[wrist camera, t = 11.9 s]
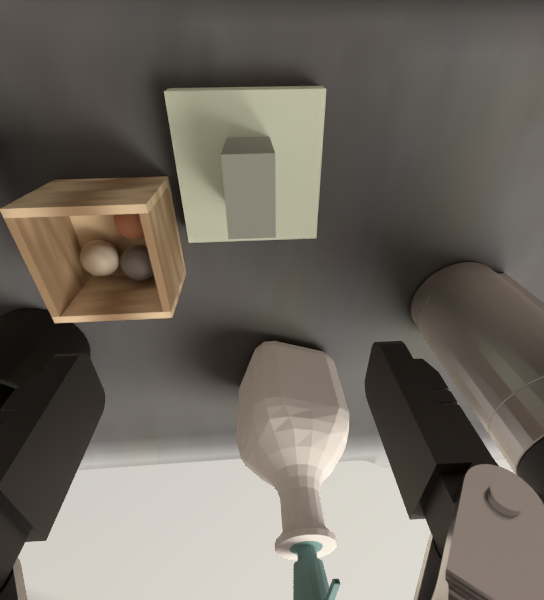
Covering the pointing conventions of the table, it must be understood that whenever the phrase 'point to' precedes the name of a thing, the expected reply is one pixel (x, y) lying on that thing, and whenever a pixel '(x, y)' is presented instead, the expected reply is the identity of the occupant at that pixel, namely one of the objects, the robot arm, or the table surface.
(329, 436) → the soap bottle
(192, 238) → the lid
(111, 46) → the table surface
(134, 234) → the storage box
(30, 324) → the mug
